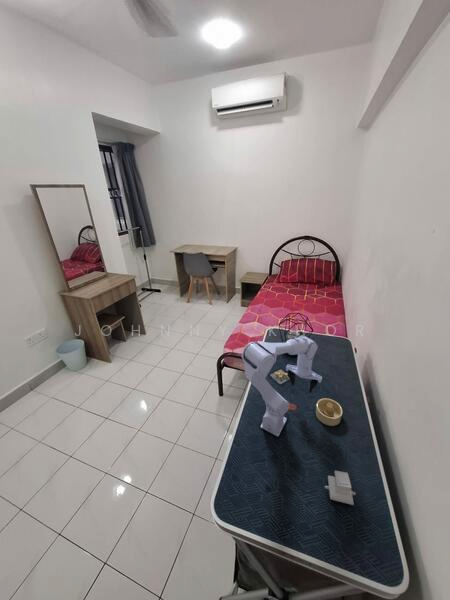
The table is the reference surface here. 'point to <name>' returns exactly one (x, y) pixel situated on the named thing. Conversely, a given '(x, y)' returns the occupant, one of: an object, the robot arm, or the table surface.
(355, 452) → the table surface
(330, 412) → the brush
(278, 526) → the table surface
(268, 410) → the robot arm
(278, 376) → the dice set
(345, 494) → the stamp
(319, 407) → the yellow round bowl
